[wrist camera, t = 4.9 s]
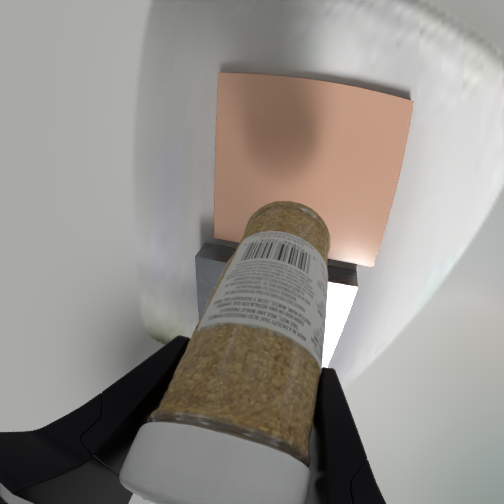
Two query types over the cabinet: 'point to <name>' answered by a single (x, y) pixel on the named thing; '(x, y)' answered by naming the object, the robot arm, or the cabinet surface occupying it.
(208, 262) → the collar stand
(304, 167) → the terracotta tile
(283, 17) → the cabinet surface
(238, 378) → the sprinkles bottle
